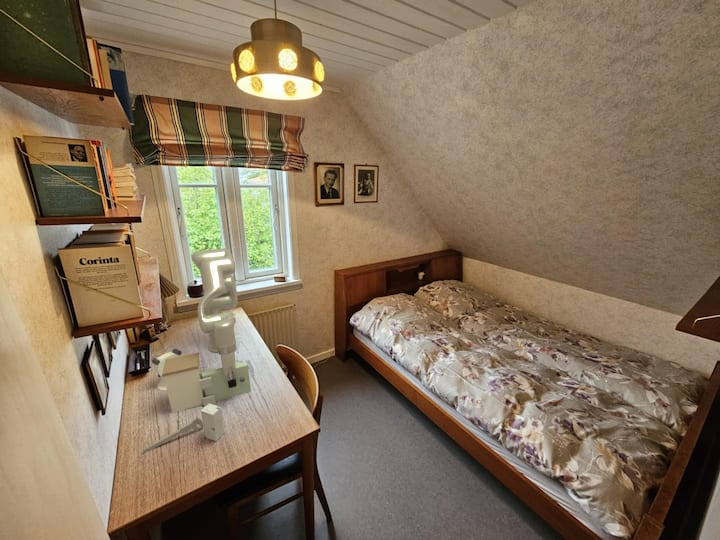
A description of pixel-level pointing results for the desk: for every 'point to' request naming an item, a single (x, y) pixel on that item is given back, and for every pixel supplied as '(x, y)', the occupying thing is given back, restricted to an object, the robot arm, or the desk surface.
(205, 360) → the desk surface
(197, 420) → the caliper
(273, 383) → the desk surface
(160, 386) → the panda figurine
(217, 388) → the door
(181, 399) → the cabinet
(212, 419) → the skincare box
